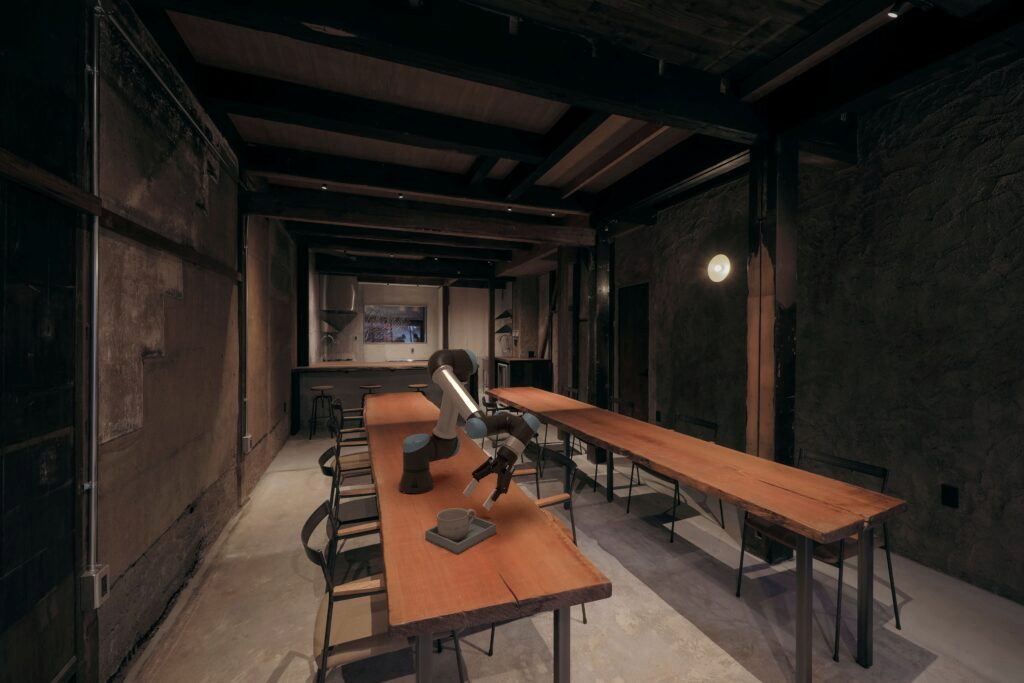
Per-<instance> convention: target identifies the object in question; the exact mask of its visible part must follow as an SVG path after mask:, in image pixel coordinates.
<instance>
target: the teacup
mask: <svg viewBox="0 0 1024 683" xmlns="http://www.w3.org/2000/svg"><path fill="white" fill-rule="evenodd" d="M470 513H472V514H471V515H472V517H471V518H470V520H469V515H470ZM475 517H477V512H476V510H474V509H472V508H469V509H465V508H462V507H461V508H460V507H454V508H453V507H452V508H446V509H443V510H441V511H439V512H438V513H437V514H436V524H437V525H436V526H437V528H438V533H439V535H440V536H442V537H444V538H447V539H449V540H451V541H456V540H459V539H461V538H463V537H464V536H465V535H466V534H467V532H468V529H469V524H470V523H471V522H472V521H473V520H474V519H475Z"/></svg>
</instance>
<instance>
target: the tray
mask: <svg viewBox="0 0 1024 683" xmlns="http://www.w3.org/2000/svg"><path fill="white" fill-rule="evenodd" d="M471 517H472V514H469V520H470V518H471ZM495 533H496V534H497V523H496V524H495V523H494V522H491V521H489V520H485V519H482V518H480V517H477V516H475V519H474V520H473V521H472V522H471V523H470V524H469V529H468V532H467V534H466V535H465V536H464V537H463V538H461V539H459V540H456V541H451V540H449V539H447V538H444V537H442V536H440V535H439V533H438V528H437V525H435V526H433V527H431V528H428V529H426V530H425V532H424V534H425V535H424V536H425V538H424V539H425V541H427V542H429V543H431V544H434V545H436V546H438V547H440V548H442V549H444V550H447V551H449V552H451V553H453V554H456V555H460V554H461V553H463V552H465V551H467V550H469V549H470V547H471V546H472V547H474V546H476V545H478V544H479V542H480V541H481V542H483V541H485V540H486V538H487V539H489V538H490V536H491V537H492V536H494V535H496V534H495ZM493 534H494V535H493ZM488 537H489V538H488ZM484 539H485V540H484ZM482 540H483V541H482ZM481 542H480V543H481ZM477 543H478V544H477ZM475 544H476V545H475ZM473 545H474V546H473ZM472 547H471V548H472ZM468 548H469V549H468ZM466 549H467V550H466Z"/></svg>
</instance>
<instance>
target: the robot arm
mask: <svg viewBox="0 0 1024 683" xmlns="http://www.w3.org/2000/svg"><path fill="white" fill-rule="evenodd" d="M426 366H427V368H426V370H427V372H428V376H429V378H430V379H431V380H432V382H433V383H434V384H437V385H438V386H439V387H440V389H441V390H442V391H443V393H442V399H441V404H440V409H439V414H438V420H437V423H436V426H435V427H433V429H432V431H431V435H429V434H428V433H416V434H411V435H409V436H407V437H406V438H405V439H404V440H403V443H402V475H401V478H400V481H399V484H398V489H399V490H400V491H402V492H405V493H404V494H406V493H420V494H423V493H422V492H425V493H427V492H426V491H428V492H430V491H432V490H433V489H434V488H435V486H434V480H433V476H432V473H431V471H430V469H431V468H430V464H431V463H433V462H438V461H441V460H447V459H450V458H452V457H455V456H457V454H458V453H459V451H460V448H461V441H460V440H461V438H460V436H459V434H458V431H457V430H456V427H457V421H458V417H459V414H460V416H461V417H462V419H463V420H464V421H465V424H464V430H465V432H466V433H465V434H466V435H467V437H468V438H469V439H472V440H477V439H478V440H479V439H480V440H481V439H484V438H488V437H492V436H497V435H502V434H508V436H507V438H506V439H504V442H503V443H502V445H501V446H500V447H499V449H498V450H497V451H496V457H495V458H494V457H492V456H491V455H490V456H489V457H488V458H487V459H486V460H485V462H483V463H482V464H481V465H479V466H478V467H477V468H476V469H474V471H472V472H471V476H472V479H471V480H470V481H469V482H468V484H467V487H466V488H465V489H464V490H463V491H462V494H463V495H464V496H465V497H466V498H467V499H468V498H470V497H471V495H472V493H473V491H474V490H475V489H476V488H477V486H478V485H479V483H480V481H481V480H482V479H485V477H487V476H489V475H491V474H497V479H496V481H497V482H496V487H495V488H493V490H492V491H491V493H490V494H489V495H488V497H487V498H486V500H485V501H484V503H483V504H482V507H483V508H484V509H486V511H490V509H491V508H492V506H493V505H494V503H495V502H497V501H498V499H499V497H500V496H501V495H502V494H505V495H507V494H508V491H509V488H510V484H511V480H512V478H513V475H514V473H515V471H516V468H515V467H514V465H515V464H516V462H518V459H519V457H520V456H521V455H522V453H523V452H524V450H525V449H526V448H527V446H528V445H529V443H530V441H531V440H532V439H533V437H534V436H535V435H536V434H537V432H538V430H539V428H540V426H541V422H540V420H539V418H537V417H536V416H535V415H533V414H532V413H529V412H526V413H524V414H522V416H521V417H520V416H517V415H515V414H513V413H510V412H508V411H505V410H497V411H496V412H495V413H493V415H492V414H491V415H486V414H485V412H484V411H483V409H481V407H480V406H479V404H478V403H477V401H475V399H474V398H473V397H472V395H471V394H470V393H469V391H468V390H467V388H466V387H465V384H466V383H468V382H469V381H470V376H471V375H474V374H475V373H476V372H477V368H478V360H477V358H476V355H475V354H474V352H473V351H472V350H470V349H468V348H467V349H466V348H465V349H464V348H460V349H459V348H457V349H456V348H454V349H453V348H451V349H450V348H449V349H443V348H442V349H439V350H436V351H434V352H433V353H432V354H431V355H430V357H429V358H428V361H427V365H426ZM432 488H433V489H432ZM431 489H432V490H431ZM399 490H398V491H399ZM429 490H430V491H429ZM400 491H399V492H400ZM402 492H401V493H402Z"/></svg>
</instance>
